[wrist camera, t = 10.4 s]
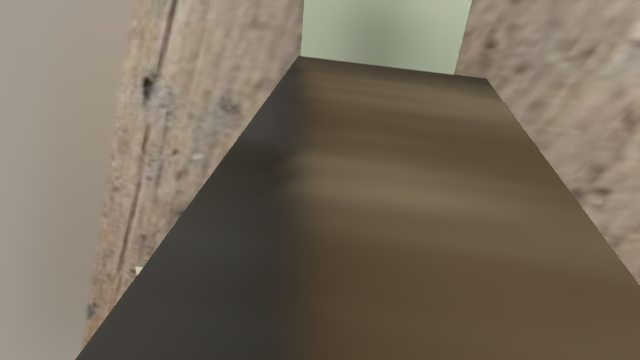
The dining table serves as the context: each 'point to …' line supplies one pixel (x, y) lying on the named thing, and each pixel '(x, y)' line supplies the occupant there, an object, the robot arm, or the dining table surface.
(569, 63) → the dining table surface
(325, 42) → the sage pad
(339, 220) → the box
